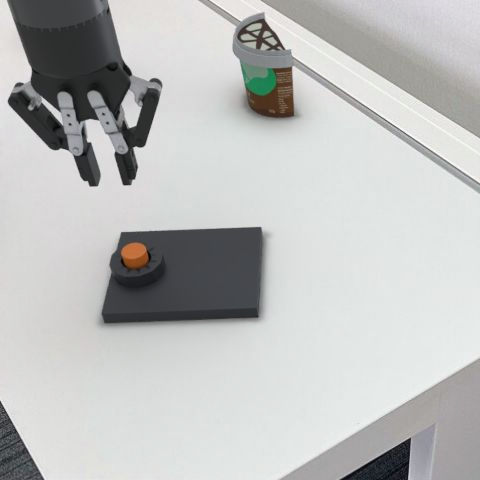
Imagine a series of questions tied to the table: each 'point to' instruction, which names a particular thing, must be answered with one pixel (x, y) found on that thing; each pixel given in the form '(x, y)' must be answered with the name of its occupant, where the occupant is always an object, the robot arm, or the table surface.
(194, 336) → the table surface
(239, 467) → the table surface
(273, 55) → the food container
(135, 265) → the button
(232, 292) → the scale
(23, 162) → the table surface
